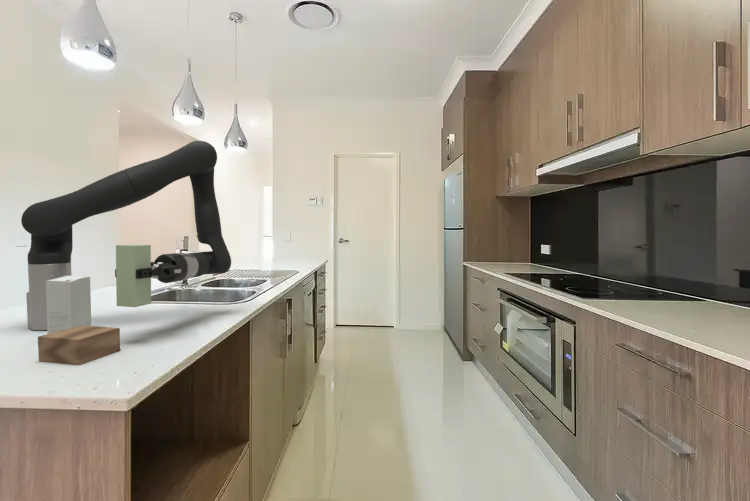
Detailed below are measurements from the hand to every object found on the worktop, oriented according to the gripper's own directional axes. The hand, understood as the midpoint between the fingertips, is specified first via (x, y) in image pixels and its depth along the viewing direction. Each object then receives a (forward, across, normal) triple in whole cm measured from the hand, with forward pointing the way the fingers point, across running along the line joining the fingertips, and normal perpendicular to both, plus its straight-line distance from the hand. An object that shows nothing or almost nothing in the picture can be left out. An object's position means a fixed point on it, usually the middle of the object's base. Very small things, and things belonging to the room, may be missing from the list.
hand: (126, 273), depth 98 cm
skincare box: (-1, -18, +17) cm, 24 cm away
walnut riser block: (+10, -3, +16) cm, 19 cm away
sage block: (-2, 0, +8) cm, 8 cm away
